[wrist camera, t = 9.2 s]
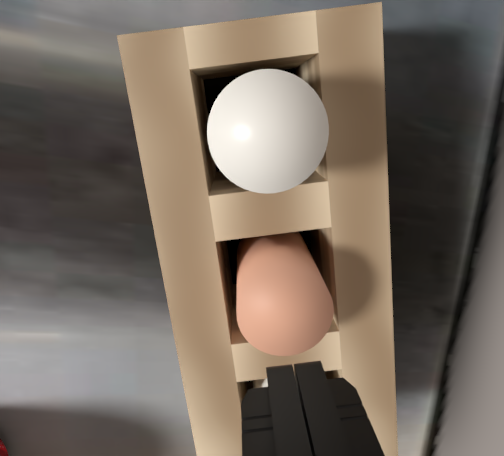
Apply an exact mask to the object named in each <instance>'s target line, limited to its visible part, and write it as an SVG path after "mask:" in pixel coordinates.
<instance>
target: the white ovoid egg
mask: <svg viewBox="0 0 504 456" xmlns="http://www.w3.org/2000/svg"><path fill="white" fill-rule="evenodd" d="M328 137H329V124H328V117H327V114H326V110H325V108H324V105H323V103H322V101H321V99H320V98H319V96H318V94H317V93H316V92H315V91H314V89H313V88H312V87H311V86H310V85H309V84H308V83H306V82H305V81H304V80H302V79H301V78H299V77H298V76H296V75H294V74H291V73H289V72H286V71H282V70H278V69H260V70H255V71H251V72H248V73H245V74H243V75H241V76H239V77H238V78H236V79H235V80H233V81H232V82H230V83H229V84H228V85H227V86H226V87H225V88H224V89H223V90H222V92H221V93H220V94H219V95H218V97H217V99H216V100H215V102H214V104H213V106H212V108H211V111H210V115H209V118H208V124H207V140H208V145H209V150H210V152H211V155H212V158H213V160H214V162H215V164H216V165H217V167H218V168H219V170H220V171H221V172H222V173H223V174H224V175H225V177H227V178H228V179H229V180H230V181H231V182H233V183H234V184H236V185H237V186H239V187H241V188H243V189H246V190H249V191H251V192H256V193H265V194H269V193H278V192H283V191H286V190H289V189H291V188H293V187H295V186H297V185H299V184H300V183H302V182H303V181H305V180H306V179H307V178H308V177H309V176H310V175H311V174H312V173H313V172H314V171H315V170H316V168H317V167H318V165H319V164H320V162H321V160H322V158H323V156H324V154H325V151H326V147H327V144H328Z"/></svg>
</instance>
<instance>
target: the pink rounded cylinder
mask: <svg viewBox="0 0 504 456" xmlns="http://www.w3.org/2000/svg"><path fill="white" fill-rule="evenodd" d="M333 313H334V307H333V301H332V297H331V295H330V293H329V290H328V288H327V286H326V284H325V282H324V280H323V278H322V276H321V274H320V272H319V270H318V268H317V266H316V264H315V262H314V260H313V258H312V256H311V254H310V252H309V250H308V248H307V246H306V244H305V241H304V239H303V237H302V236H301V234H300V233H299V232H298V231H297V232H289V233H281V234H273V235H265V236H257V237H249V238H241V240H240V241H239V244H238V248H237V301H236V314H237V322H238V326H239V329H240V331H241V333H242V335H243V336H244V337H245V339H246V340H247V341H248V342H249V343H250V344H251V345H252V346H254V347H255V348H256V349H258V350H260V351H262V352H264V353H267V354H270V355H276V356H291V355H296V354H300V353H303V352H305V351H307V350H309V349H311V348H312V347H314V346H315V345H316V344H318V343H319V342H320V341H321V340H322V339H323V337H324V336H325V335H326V333H327V332H328V330H329V328H330V326H331V323H332V320H333Z"/></svg>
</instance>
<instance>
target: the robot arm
mask: <svg viewBox="0 0 504 456" xmlns="http://www.w3.org/2000/svg"><path fill="white" fill-rule="evenodd" d="M266 373H267V382H268V387H261V388H252V389H248V391H247V393H246V395H245V396H244V398H243V400H242V402H241V419H242V421H241V425H242V456H385V455H384V452H383V450H382V448H381V445H380V443H379V441H378V438H377V436H376V434H375V431H374V429H373V427H372V424H371V422H370V420H369V418H368V416H367V413H366V410H365V408H364V406H363V404H362V401H361V399H360V396H359V394H358V392H357V389H356V388H355V387H354V386H352V385H351V384H350V383H349V382H348V381H347V380H346V379H344V378H343V377H342V378H334V379H327V378H326V375H325V372H324V369H323V366H322V363H321V361H312V362H304V363H296V364H294V371H293V366H292V364H289V365H280V366H272V367H266ZM294 374H295V375H294Z"/></svg>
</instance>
